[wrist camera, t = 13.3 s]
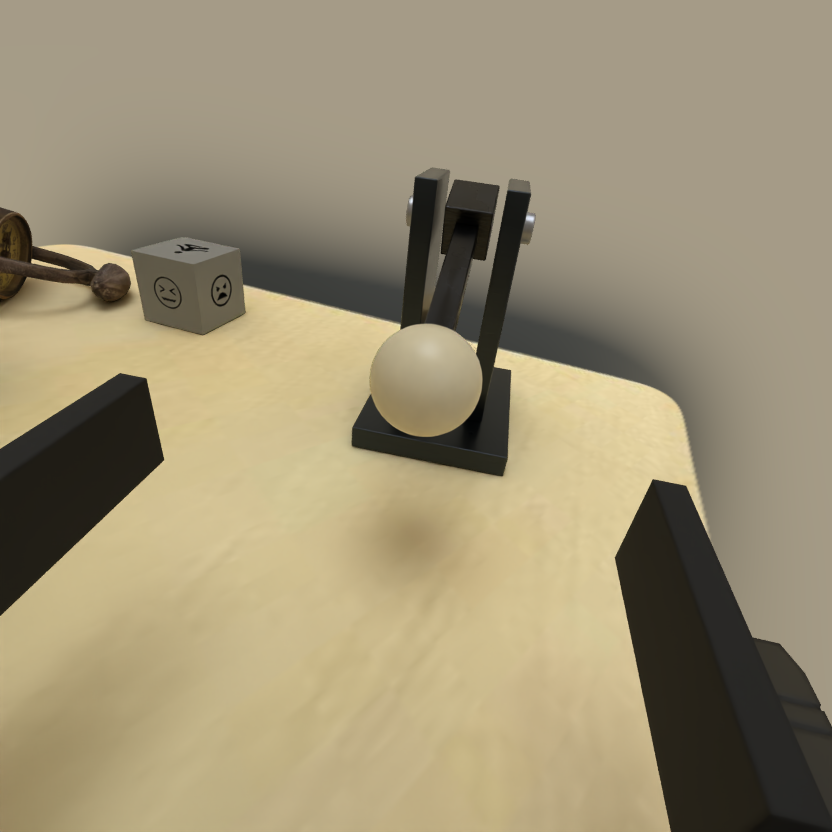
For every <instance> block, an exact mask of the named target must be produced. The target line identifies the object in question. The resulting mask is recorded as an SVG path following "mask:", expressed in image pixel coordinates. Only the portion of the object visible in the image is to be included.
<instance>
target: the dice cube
mask: <svg viewBox="0 0 832 832" xmlns="http://www.w3.org/2000/svg"><path fill="white" fill-rule="evenodd" d="M131 253H132V258H133V263H134V268H135V273H136V278H137V283H138V287H139V292H140V297H141V302H142V307H143V312H144V316H145V320H148V321H151V322H155V323H159V324H163V325H167V326H171V327H175V328H178V329H182V330H186V331H190V332H194V333H198V334H202V335H204V334H206V333H208V332H210V331H212V330H214V329H216V328H217V327H219V326H221V325H223V324H225V323H227V322H229V321H231V320H233V319H235V318H237V317H239V316H240V315H242V314H244V313H245V303H244V291H243V280H242V269H241V257H240V249H238V248H234V247H228V246H224V245H219V244H215V243H210V242H205V241H201V240H196V239H191V238H186V237H180V238H176V239H172V240H169V241H165V242H161V243H157V244H153V245H150V246H146V247H142V248H138V249H134V250H131Z"/></svg>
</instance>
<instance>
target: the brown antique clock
mask: <svg viewBox="0 0 832 832" xmlns="http://www.w3.org/2000/svg"><path fill="white" fill-rule="evenodd" d="M31 259H35V260H39V261H42V262H46V263H50V264H54V265H58V266H61V267H65V268H67V269H70V270H67V269H57V268H52V267H46V266H41V265H37V264H32V263H31ZM27 277H30V278H36V279H42V280H48V281H54V282H61V283H77V284H83V285H86V286H91V288H92V292H93V293H94V294H95V295H96V296H97V297H99V298H101V299H103V300H105V301H115V300H118V299H120V298H121V297H122V296H124V295H125V294H126V293H127V292H128V290H129V289H130V285H131V281H130V277H129V274H128V273H127V272H126V271H125V270H124V269H123V268H122V267H120V266H118V265H116V264H111V263H108V264H105V265H103V266H102V267H101V268H100V270H99V271H98V270H96V269H95V268H94V267H93V266H91V265H89V264H87V263H84V262H82V261H79V260H77V259H74V258H71V257H69V256H65V255H62V254H59V253H56V252H52V251H48V250H45V249H41V248H38V247H34V246H32V235H31V231H30V228H29V225H28V223H27V221H26V220H25V219H24V217H23V216H22V215H21V214H19V213H16V212H14V211H10V210H7V209H4V208H0V299H7V298H10V297H12V296H14V295H15V294H16V293H18V291H19V290H20V288H21V287H22V285H23V284H24V282H25V280H26V278H27Z"/></svg>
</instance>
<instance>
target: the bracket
mask: <svg viewBox="0 0 832 832" xmlns="http://www.w3.org/2000/svg"><path fill="white" fill-rule="evenodd" d="M449 174H450V171H449V170H445V169H438V168H430V169H428V170H426V171H425V172H423V173H421V174H420V175H418V176H416V177H415V182H414V193H413V195H412V196H410V198H409V201H408V206H407V214H406V223H407V226H410V234H409V245H408V255H407V266H406V276H405V286H404V297H403V307H402V318H401V328H400V330H401V329H403V328H406V327H408V326H412V325H417V324H424V323H425V320H426V317H427V314H428V311H429V307H430V304H431V301H432V298H433V294H434V290H435V282H436V274H437V267H438V259H439V251H440V244H441V236H442V228H443V221H444V212H445V206H446V198H447V190H448V183H449ZM530 197H531V190H530V182H529V181H524V180H517V179H510V180H509V185H508V191H507V196H506V201H505V206H504V211H503V216H502V222H501V227H500V232H499V238H498V242H497V248H496V253H495V258H494V263H493V269H492V274H491V279H490V285H489V290H488V294H487V300H486V305H485V311H484V315H483V321H482V326H481V331H480V336H479V341H478V346H477V352H476V355H477V357H478V360H479V363H480V366H481V370H482V390H481V394H480V398H479V401H478V403H477V405H476V407H475V409H474V411H473V412H472V413H471V415H470V416H469V417H468V418H467V419H466V420H465V421H464V422H463V423H462V424H461V425H460V426H458V427H457V428H455V429H454V430H452V431H450V432H447V433H445V434H441V435H438V436H432V437H420V436H414V435H410V434H407V433H404V432H402V431H400V430H398V429H396V428H395V427H393V426H392V425H391V424H390V423H388V422H387V421H386V420H385V419H384V417H383V416H382V415H381V414H380V412H379V411H378V409H377V407H376V406H375V403H374V401H373V398H372V395H371V394H370V396H369V398H368V400H367V402H366V404H365V405H364V407H363V409H362V411H361V413H360V415H359V416H358V418H357V420H356V422H355V424H354V426H353V427H352V446H355V447H360V448H365V449H370V450H375V451H380V452H385V453H390V454H395V455H400V456H405V457H410V458H415V459H420V460H425V461H430V462H435V463H440V464H445V465H450V466H455V467H460V468H465V469H470V470H475V471H480V472H485V473H490V474H495V475H500V476H503V473H504V470H505V466H506V462H507V458H508V434H509V409H510V384H511V370H507V369H501V368H496V367H494V363H495V358H496V354H497V349H498V344H499V340H500V335H501V331H502V326H503V321H504V316H505V312H506V307H507V303H508V298H509V294H510V289H511V285H512V280H513V275H514V271H515V266H516V262H517V257H518V252H519V248H520V243H521V244H527V245H528V244H529V243H530V240H531V237H532V232H533V228H534V223H535V216H536V215H535V213H529V212H527V211H528V206H529V202H530Z"/></svg>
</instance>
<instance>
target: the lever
mask: <svg viewBox="0 0 832 832" xmlns="http://www.w3.org/2000/svg"><path fill="white" fill-rule="evenodd" d="M498 193H499V186H498V185H491V184H484V183H477V182H470V181H463V180H454V183H453V186H452V189H451V192H450V194H449V197H448V200H447V203H446V206H445V212H444V223H443V233H442V244H441V254H445V255H446V256H445V259H444V262H443V266H442V269H441V272H440V275H439V278H438V282H437V285H436V288H435V291H434V294H433V298H432V301H431V304H430V307H429V311H428V314H427V317H426V320H425V323H424V324H417V325H412V326H408V327H406V328H403V329H401V330H399V331H398V332H396V333H394V334H393V335H392V336H390V337H389V338H388V339H387V340H386V341H385V342H384V343H383V344H382V346H381V347H380V348H379V350H378V351H377V353H376V355H375V357H374V360H373V362H372V366H371V370H370V391H371V395H372V398H373V401H374V403H375V406H376V407H377V409H378V411H379V412H380V414H381V415H382V416H383V417H384V419H385V420H386V421H387V422H388V423H390V424H391V425H392V426H393V427H395V428H396V429H398V430H400V431H402V432H404V433H407V434H410V435H414V436H420V437H432V436H438V435H441V434H445V433H447V432H450V431H452V430H454V429H455V428H457V427H458V426H460V425H461V424H462V423H463V422H464V421H465V420H466V419H467V418H468V417H469V416H470V415H471V413H472V412H473V411H474V409H475V407H476V405H477V403H478V401H479V398H480V394H481V390H482V370H481V366H480V363H479V360H478V357H477V355H476V353H475V351H474V350H473V348H472V347H471V346H470V344H469V343H468V342H467V341H466V340H465V339H464V338H463V337H462V336H460V335H459V334H458V333H456V332H455V331H456V327H457V323H458V318H459V315H460V310H461V306H462V302H463V298H464V294H465V290H466V285H467V281H468V277H469V273H470V269H471V265H472V261H473V259H477V260H483V261H484V260H486V256H487V251H488V246H489V242H490V237H491V232H492V226H493V221H494V215H495V210H496V204H497V198H498Z"/></svg>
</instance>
